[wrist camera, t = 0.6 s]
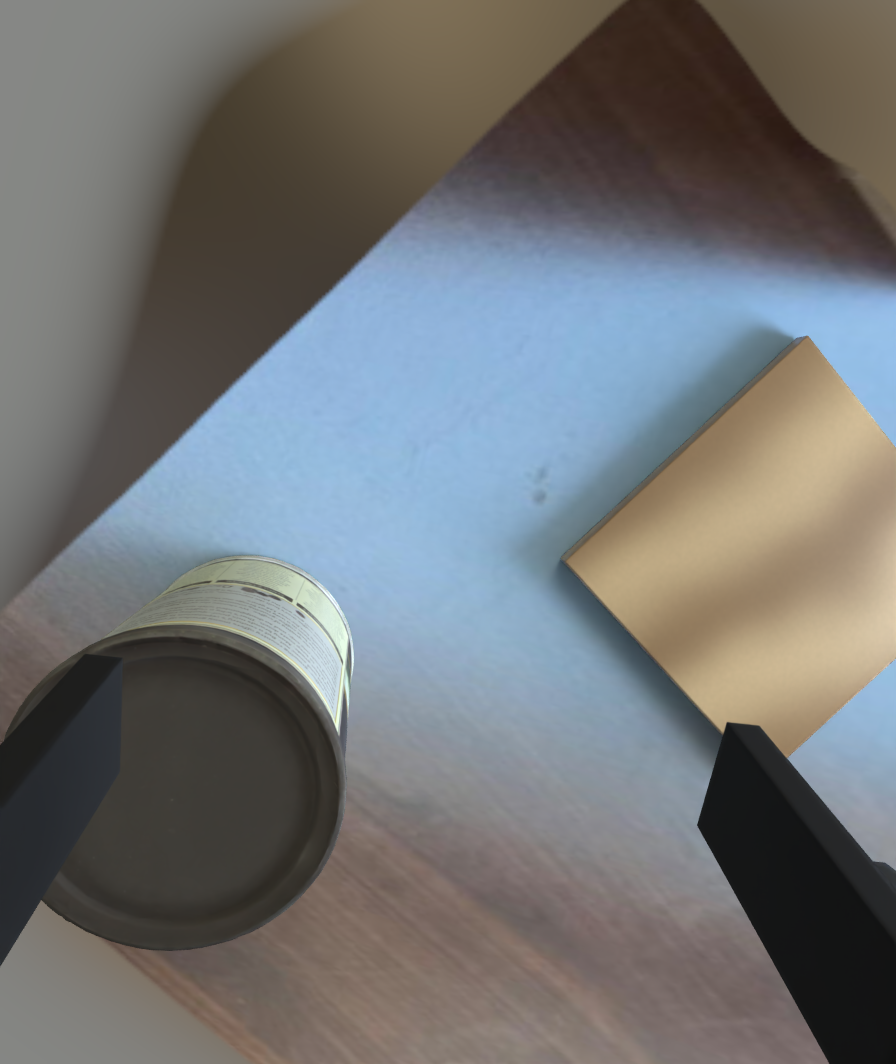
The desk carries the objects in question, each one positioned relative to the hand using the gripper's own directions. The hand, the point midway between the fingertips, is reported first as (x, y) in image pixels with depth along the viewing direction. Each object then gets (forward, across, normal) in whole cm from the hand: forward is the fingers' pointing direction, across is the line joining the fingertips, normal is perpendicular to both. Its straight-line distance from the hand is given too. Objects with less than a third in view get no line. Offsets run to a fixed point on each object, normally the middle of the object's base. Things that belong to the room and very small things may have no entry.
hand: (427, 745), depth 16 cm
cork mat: (+21, +19, -1) cm, 28 cm away
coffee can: (+20, -7, -8) cm, 22 cm away
